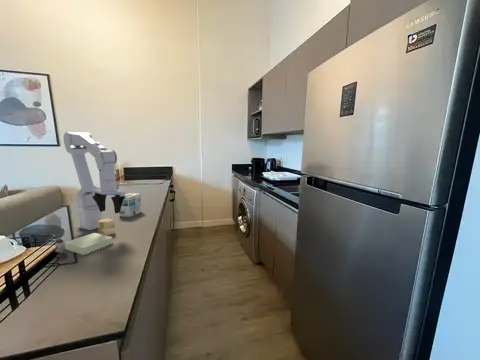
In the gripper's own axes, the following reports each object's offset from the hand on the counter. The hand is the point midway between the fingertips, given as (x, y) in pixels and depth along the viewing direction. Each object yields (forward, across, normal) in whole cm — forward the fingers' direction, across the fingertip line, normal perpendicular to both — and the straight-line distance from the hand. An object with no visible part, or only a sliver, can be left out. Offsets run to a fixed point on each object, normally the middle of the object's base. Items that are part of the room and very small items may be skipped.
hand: (110, 211), depth 101 cm
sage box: (+10, +1, -12) cm, 16 cm away
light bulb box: (+10, -13, +28) cm, 32 cm away
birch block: (+10, -2, 0) cm, 10 cm away
